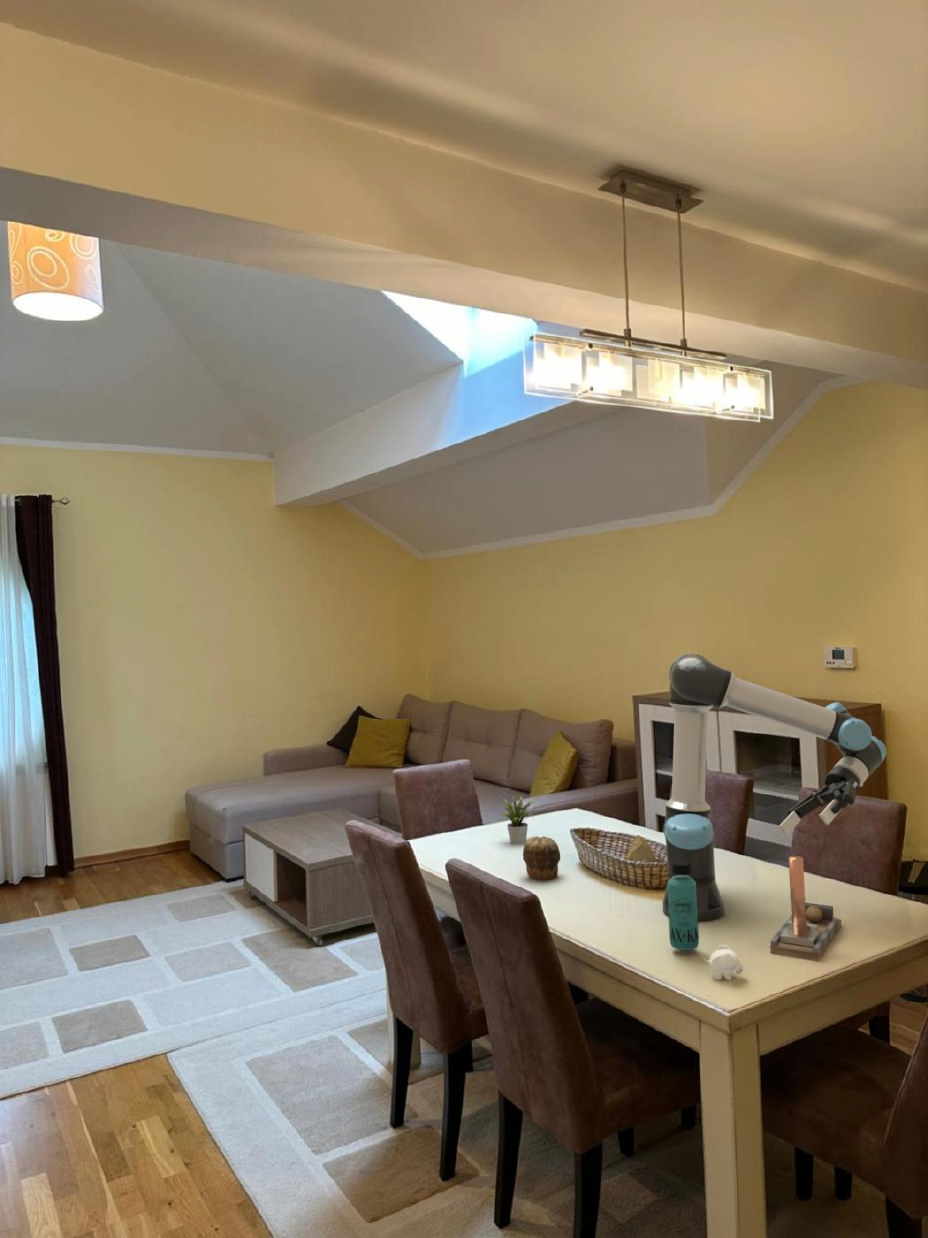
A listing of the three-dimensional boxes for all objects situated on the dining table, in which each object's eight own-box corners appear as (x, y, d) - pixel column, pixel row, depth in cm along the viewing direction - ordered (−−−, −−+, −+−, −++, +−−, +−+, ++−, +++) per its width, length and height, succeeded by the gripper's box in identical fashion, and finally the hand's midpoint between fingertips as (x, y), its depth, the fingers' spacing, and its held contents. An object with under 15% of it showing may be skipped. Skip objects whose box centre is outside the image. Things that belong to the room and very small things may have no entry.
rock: (667, 865, 251) (655, 852, 261) (650, 845, 249) (639, 832, 259) (639, 889, 250) (628, 875, 260) (622, 869, 249) (611, 855, 259)
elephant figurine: (747, 985, 173) (746, 955, 173) (706, 984, 174) (705, 955, 174) (742, 971, 180) (741, 943, 180) (703, 970, 181) (701, 942, 181)
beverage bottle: (666, 947, 195) (661, 859, 195) (694, 945, 195) (689, 857, 195) (675, 958, 188) (670, 867, 188) (704, 956, 189) (699, 865, 189)
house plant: (542, 848, 286) (539, 799, 286) (500, 850, 287) (498, 801, 287) (538, 837, 301) (536, 791, 301) (499, 839, 301) (497, 793, 301)
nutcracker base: (818, 961, 183) (817, 937, 183) (770, 953, 188) (769, 929, 189) (841, 925, 203) (840, 904, 203) (797, 919, 208) (796, 898, 208)
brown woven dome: (519, 881, 250) (517, 840, 250) (530, 871, 260) (528, 831, 261) (555, 884, 246) (552, 842, 246) (565, 873, 256) (563, 833, 256)
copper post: (813, 947, 186) (809, 863, 186) (780, 942, 190) (776, 859, 190) (819, 938, 191) (815, 856, 191) (787, 933, 195) (783, 852, 195)
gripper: (894, 778, 205) (852, 828, 194) (818, 801, 226) (776, 847, 215) (875, 752, 206) (831, 801, 195) (801, 777, 227) (758, 822, 216)
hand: (802, 825), depth 205 cm, fingers open, 13 cm apart
